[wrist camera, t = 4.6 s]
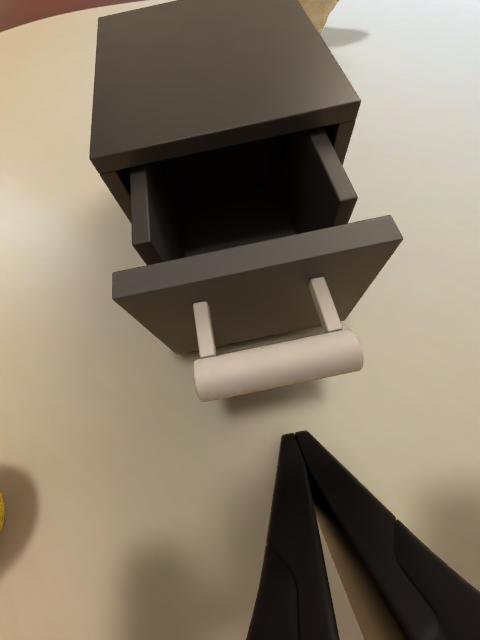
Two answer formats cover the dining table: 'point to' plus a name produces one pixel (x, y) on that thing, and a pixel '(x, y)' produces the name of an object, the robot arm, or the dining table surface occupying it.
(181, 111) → the dark drawer box
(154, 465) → the dining table surface
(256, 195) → the dark grey drawer
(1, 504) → the lemon
